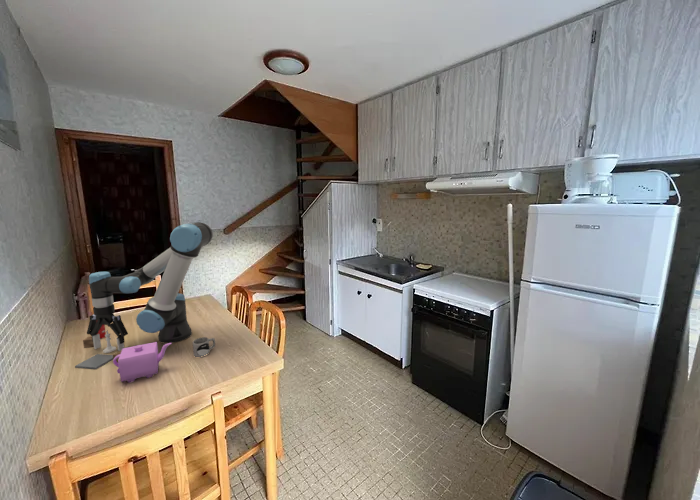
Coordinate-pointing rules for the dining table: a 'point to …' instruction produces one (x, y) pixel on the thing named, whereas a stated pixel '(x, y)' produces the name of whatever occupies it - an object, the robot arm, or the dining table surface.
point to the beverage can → (102, 332)
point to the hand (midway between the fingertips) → (109, 348)
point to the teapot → (139, 361)
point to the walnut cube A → (88, 342)
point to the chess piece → (108, 344)
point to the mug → (202, 346)
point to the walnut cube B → (116, 355)
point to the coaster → (95, 361)
